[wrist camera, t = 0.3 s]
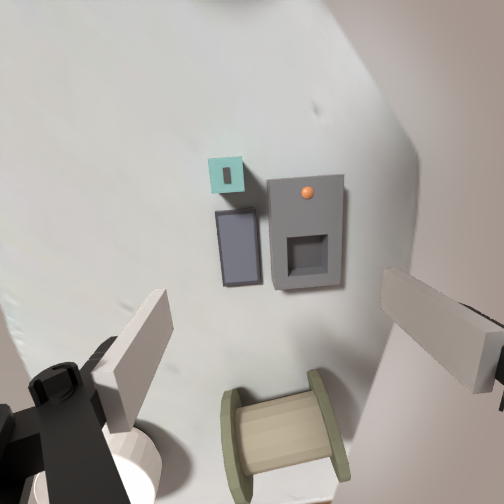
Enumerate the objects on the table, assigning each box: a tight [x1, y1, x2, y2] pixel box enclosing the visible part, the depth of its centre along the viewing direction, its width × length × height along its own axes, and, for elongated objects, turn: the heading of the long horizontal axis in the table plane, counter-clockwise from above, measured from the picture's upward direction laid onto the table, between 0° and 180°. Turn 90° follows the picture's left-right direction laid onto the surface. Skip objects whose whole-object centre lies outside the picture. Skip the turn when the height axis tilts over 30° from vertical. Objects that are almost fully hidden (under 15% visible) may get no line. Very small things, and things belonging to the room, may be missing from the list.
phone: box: [215, 208, 260, 287], centre depth 40 cm, size 6×12×1 cm, turn 4°
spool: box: [220, 370, 351, 504], centre depth 42 cm, size 16×15×15 cm
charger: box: [208, 156, 245, 194], centre depth 34 cm, size 4×4×7 cm
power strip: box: [267, 175, 344, 290], centre depth 38 cm, size 16×10×4 cm, turn 4°
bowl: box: [34, 423, 162, 504], centre depth 47 cm, size 20×20×8 cm
